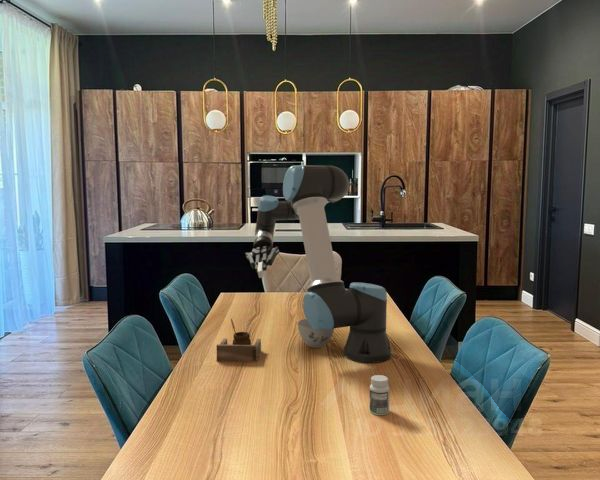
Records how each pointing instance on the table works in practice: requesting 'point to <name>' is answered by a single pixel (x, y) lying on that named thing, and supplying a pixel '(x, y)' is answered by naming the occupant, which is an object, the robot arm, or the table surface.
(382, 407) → the pill bottle
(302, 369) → the table surface
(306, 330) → the teacup
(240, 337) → the utensil holder
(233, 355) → the walnut corral
